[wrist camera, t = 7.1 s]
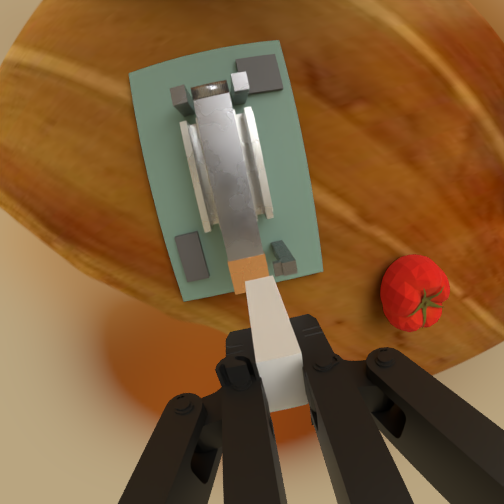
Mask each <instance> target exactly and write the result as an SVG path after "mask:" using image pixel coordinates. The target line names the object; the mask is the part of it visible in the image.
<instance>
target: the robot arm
mask: <svg viewBox="0 0 504 504" xmlns="http://www.w3.org/2000/svg"><path fill="white" fill-rule="evenodd" d="M245 287H246V294H247V302H248V309H249V316H250V324H251V328H248V329H243V330H238V331H233V332H230V333H229V335H228V337H227V339H226V357H225V358H224V359H222V360H221V361H220V362H219V363H218V364H217V366H216V369H215V370H216V373H217V376H218V378H219V381H220V383H221V386H222V387H221V388H220V389H219V390H218V391H217V392H215V393H213V394H211V395H208V396H206V397H203V398H200V397H199V396H197V395H196V394H192V393H183V394H180V395H177V396H175V397H174V398H173V399H171V400H170V401H169V402H168V404H167V405H166V407H165V409H164V411H163V413H162V415H161V417H160V419H159V421H158V423H157V425H156V427H155V429H154V431H153V433H152V435H151V437H150V439H149V441H148V443H147V445H146V447H145V450H144V452H143V453H142V455H141V458H140V460H139V462H138V464H137V466H136V468H135V470H134V472H133V474H132V476H131V478H130V480H129V482H128V484H127V486H126V488H125V490H124V492H123V494H122V496H121V498H120V500H119V503H118V504H208V500H209V497H210V494H211V490H212V487H213V483H214V480H215V477H216V473H217V470H218V466H219V463H220V459H221V456H222V454H223V491H224V504H287V499H286V494H285V489H284V483H283V478H282V473H281V467H280V462H279V456H278V451H277V445H276V440H275V434H274V429H273V423H272V420H271V417H270V412H274V411H278V410H283V409H288V408H293V407H297V406H301V405H305V404H308V402H309V405H310V412H311V422H312V425H314V427H315V430H316V433H317V437H318V440H319V443H320V446H321V450H322V453H323V456H324V460H325V463H326V466H327V469H328V473H329V476H330V479H331V483H332V486H333V489H334V493H335V496H336V499H337V503H338V504H414V503H413V501H412V498H411V496H410V494H409V492H408V490H407V488H406V485H405V483H404V481H403V479H402V477H401V475H400V473H399V471H398V468H397V466H396V464H395V462H394V460H393V458H392V456H391V454H390V452H389V450H388V448H387V446H386V444H385V442H384V440H383V437H382V435H381V433H380V431H381V432H382V433H383V435H384V436H385V437H386V438H387V439H388V440H389V441H390V442H391V443H392V444H393V445H394V446H395V447H396V448H397V449H398V450H399V452H400V453H401V454H402V455H403V456H404V457H405V458H406V459H407V460H408V461H409V462H410V463H411V464H412V465H413V466H414V467H415V468H416V469H417V470H418V471H419V472H420V473H421V474H422V475H423V476H424V477H425V478H426V480H427V481H429V482H430V484H432V486H433V487H434V488H435V489H436V490H437V491H438V492H439V493H440V494H441V495H442V496H443V497H444V498H445V499H446V500H447V501H448V502H449V503H450V504H504V430H503V429H501V428H500V427H499V426H497V425H496V424H495V423H493V422H492V421H491V420H490V419H488V418H487V417H486V416H484V415H483V414H482V413H480V412H479V411H478V410H476V409H475V408H474V407H473V406H471V405H470V404H469V403H467V402H466V401H465V400H463V399H462V398H461V397H459V396H458V395H457V394H455V393H454V392H453V391H451V390H450V389H449V388H447V387H446V386H445V385H443V384H442V383H441V382H440V381H438V380H437V379H436V378H434V377H433V376H432V375H430V374H429V373H428V372H426V371H425V370H424V369H422V368H421V367H420V366H418V365H417V364H416V363H414V362H413V361H412V360H410V359H409V358H408V357H406V356H405V355H404V354H402V353H401V352H400V351H398V350H396V349H394V348H388V347H385V348H379V349H376V350H373V351H372V352H371V353H370V354H369V355H368V357H367V359H366V360H363V361H347V360H343V359H342V358H341V357H340V356H339V355H337V354H335V353H334V352H333V350H332V348H331V346H330V344H329V343H328V341H327V339H326V337H325V335H324V333H323V331H322V329H321V327H320V325H319V323H318V321H317V320H316V318H314V317H313V316H311V315H309V314H306V315H302V316H298V317H294V318H289V317H288V315H287V312H286V309H285V307H284V304H283V301H282V299H281V296H280V293H279V291H278V288H277V285H276V282H275V280H274V277H273V275H272V276H267V277H263V278H258V279H254V280H249V281H245ZM379 430H380V431H379Z"/></svg>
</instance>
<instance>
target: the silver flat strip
mask: <svg viewBox="0 0 504 504" xmlns="http://www.w3.org/2000/svg"><path fill="white" fill-rule="evenodd" d="M191 94H192V98H193V102H194V107H195V112H196V117H197V122H198V127H199V131H200V136H201V141H202V146H203V151H204V155H205V160H206V165H207V169H208V174H209V178H210V183H211V187H212V192H213V196H214V201H215V205H216V210H217V214H218V218H219V223H220V227H221V231H222V236H223V240H224V244H225V248H226V253H227V257H228V267H229V271H230V275H231V279H232V283H233V287H234V291H235V295H236V294H241V293H246V287H245V281H249V280H254V279H258V278H263V277H267V276H269V271H268V266H267V261H266V257H265V253H264V252H263V248H262V243H261V238H260V234H259V229H258V224H257V219H256V214H255V210H254V205H253V200H252V195H251V191H250V186H249V181H248V176H247V172H246V167H245V162H244V158H243V153H242V148H241V144H240V139H239V135H238V130H237V125H236V121H235V116H234V112H233V107H232V103H231V98H230V94H229V88H228V84H227V80H222V81H217V82H212V83H208V84H203V85H199V86H195V87H191Z"/></svg>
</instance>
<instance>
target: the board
mask: <svg viewBox="0 0 504 504" xmlns="http://www.w3.org/2000/svg"><path fill="white" fill-rule="evenodd" d="M245 71H246V75H247V79H248V83H249V88H250V89H249V93H248V96H247V100H246V103H244V104H238V105H233V100H232V96H231V91H230V89H231V74H233V73H239V72H245ZM129 80H130V86H131V93H132V99H133V105H134V111H135V116H136V122H137V127H138V132H139V137H140V142H141V147H142V152H143V156H144V161H145V165H146V170H147V174H148V178H149V183H150V187H151V191H152V195H153V199H154V203H155V207H156V211H157V214H158V218H159V222H160V225H161V229H162V233H163V236H164V240H165V243H166V247H167V250H168V253H169V257H170V260H171V263H172V267H173V270H174V273H175V276H176V279H177V282H178V286H179V289H180V292H181V295H182V298H183V301H184V302H185V301H190V300H195V299H200V298H205V297H210V296H215V295H220V294H225V293H229V292H234V287H233V283H232V279H231V275H230V271H229V267H228V257H227V253H226V248H225V244H224V240H223V236H222V231H221V229H220V226H219V223H218V224H213V227H212V231H211V232H206V233H205V232H204V228H203V224H202V220H201V216H200V212H199V208H198V204H197V200H196V195H195V191H194V187H193V183H192V178H191V174H190V169H189V165H188V161H187V156H186V151H185V147H184V142H183V138H182V133H181V128H180V123H179V122H183V121H187V122H188V123H189V124H190V125H192V124H196V119H195V118H197V117H196V114H193V115H189V116H185V117H184V116H183V115H182V114H181V113H180V112H179V111H178V110H177V109H176V108H175V107H174V106H173V104H172V99H171V93H170V88H172V87H176V86H180V85H183V84H184V85H185V87H186V89H187V90H188V92H189V94H190V95H191V97H192V94H191V87H195V86H199V85H203V84H208V83H212V82H217V81H222V80H227V84H228V88H229V94H230V98H231V103H232V107H233V110H235V113H236V114H241V113H243V110H244V108H245V107H251V109H252V111H253V114H254V118H255V123H256V128H257V132H258V137H259V142H260V147H261V151H262V156H263V161H264V166H265V171H266V176H267V181H268V186H269V191H270V196H271V201H272V207H273V216H274V218H270V219H267V218H266V217H265V215H264V214H259V215H257V217H258V221H257V224H258V229H259V234H260V238H261V243H262V248H263V252H264V253H265V257H266V261H267V266H268V271H269V276H272V275H273V277H274V280H275V282H280V281H284V280H288V279H293V278H297V277H301V276H306V275H310V274H314V273H318V272H322V271H323V265H322V256H321V248H320V241H319V233H318V226H317V219H316V213H315V206H314V200H313V193H312V187H311V182H310V176H309V170H308V165H307V159H306V154H305V149H304V144H303V139H302V134H301V129H300V124H299V119H298V115H297V110H296V106H295V101H294V97H293V93H292V88H291V84H290V80H289V76H288V72H287V68H286V64H285V60H284V57H283V53H282V49H281V46H280V42H279V40H275V41H265V42H257V43H249V44H242V45H236V46H230V47H224V48H219V49H213V50H209V51H204V52H199V53H195V54H191V55H187V56H183V57H179V58H175V59H172V60H168V61H165V62H162V63H158V64H155V65H152V66H149V67H146V68H143V69H140V70H137V71H134V72H131V73H129ZM192 99H193V98H192ZM193 103H194V102H193ZM194 108H195V107H194ZM195 113H196V112H195ZM280 240H283V242H284V243H285V245H286V246H287V248H288V249H289V251H290V252H291V254H292V255H293V257H294V258H295V260H296V265H297V272H298V273H296V274H292V275H288V276H284V275H281V276H277V277H275V274H274V269H273V264H272V261H277V260H276V258H275V256H274V254H273V250H272V245H271V242H275V241H280Z"/></svg>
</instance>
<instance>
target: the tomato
mask: <svg viewBox="0 0 504 504" xmlns="http://www.w3.org/2000/svg"><path fill="white" fill-rule="evenodd" d="M449 293H450V286H449V282H448V278H447V277H446V275H445V273H444V272H443V271H442V270H441V269H440V268H439V267H438V266H437V265H436V264H435V263H434V262H433V261H432V260H431V259H430V258H428V257H425V256H421V255H416V254H413V255H407V256H402V257H400V258H399V259H397V260H396V261H394V262H393V263H392V264H391V265H390V266H389V268H388V269H387V270H386V272H385V274H384V276H383V278H382V283H381V288H380V298H381V301H382V304H383V311H384V314H385V316H386V317H387V319H388V320H389V322H390V323H391V324H392V325H393V326H394V327H396V328H398V329H400V330H403V331H407V332H412V331H416V330H418V329H419V328H420V327H422V328H423V327H430V326H431V325H433V324H435V323H436V322H437V321H438V320H439V318H440V316H441V314H442V308H443V306H442V302H444V301H445V300H447V299H448V297H449Z"/></svg>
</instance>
